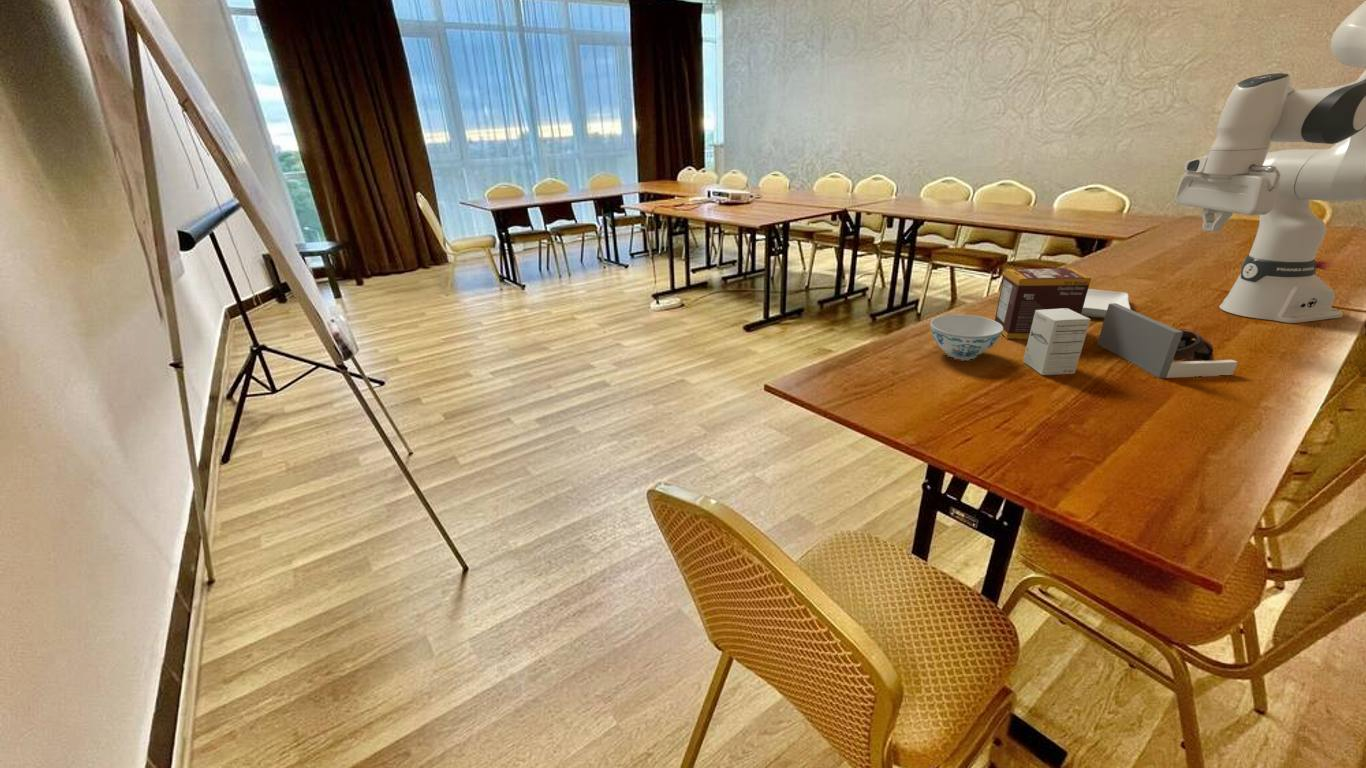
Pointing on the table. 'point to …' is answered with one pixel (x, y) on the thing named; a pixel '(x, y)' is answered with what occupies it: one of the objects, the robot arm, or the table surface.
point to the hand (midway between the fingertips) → (1210, 230)
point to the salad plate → (1102, 302)
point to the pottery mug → (1193, 347)
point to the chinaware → (965, 335)
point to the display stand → (1153, 345)
